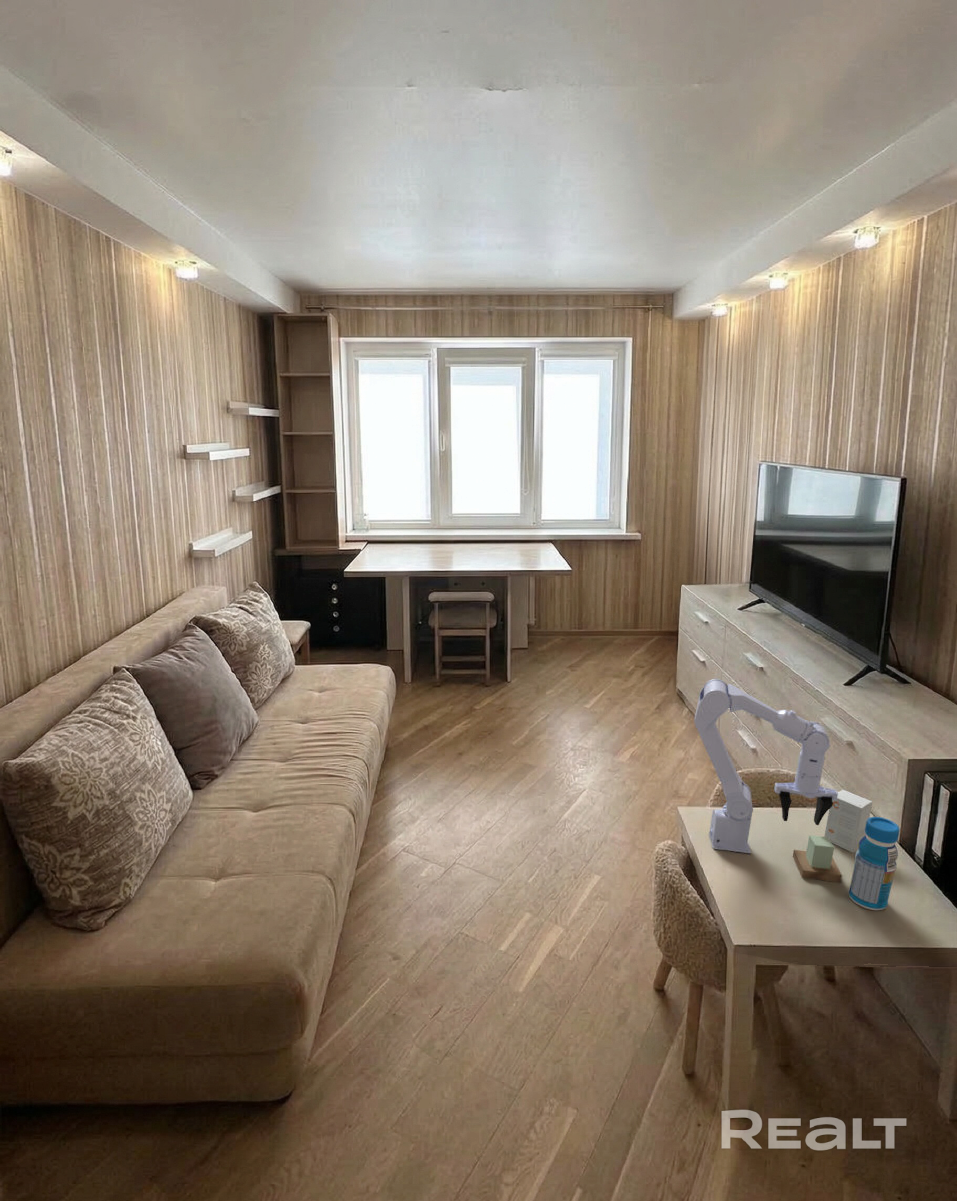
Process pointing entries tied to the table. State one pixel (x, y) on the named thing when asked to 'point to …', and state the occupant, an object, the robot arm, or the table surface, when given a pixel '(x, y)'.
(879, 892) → the beverage bottle
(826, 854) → the block
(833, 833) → the small box
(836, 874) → the plinth
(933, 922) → the table surface
